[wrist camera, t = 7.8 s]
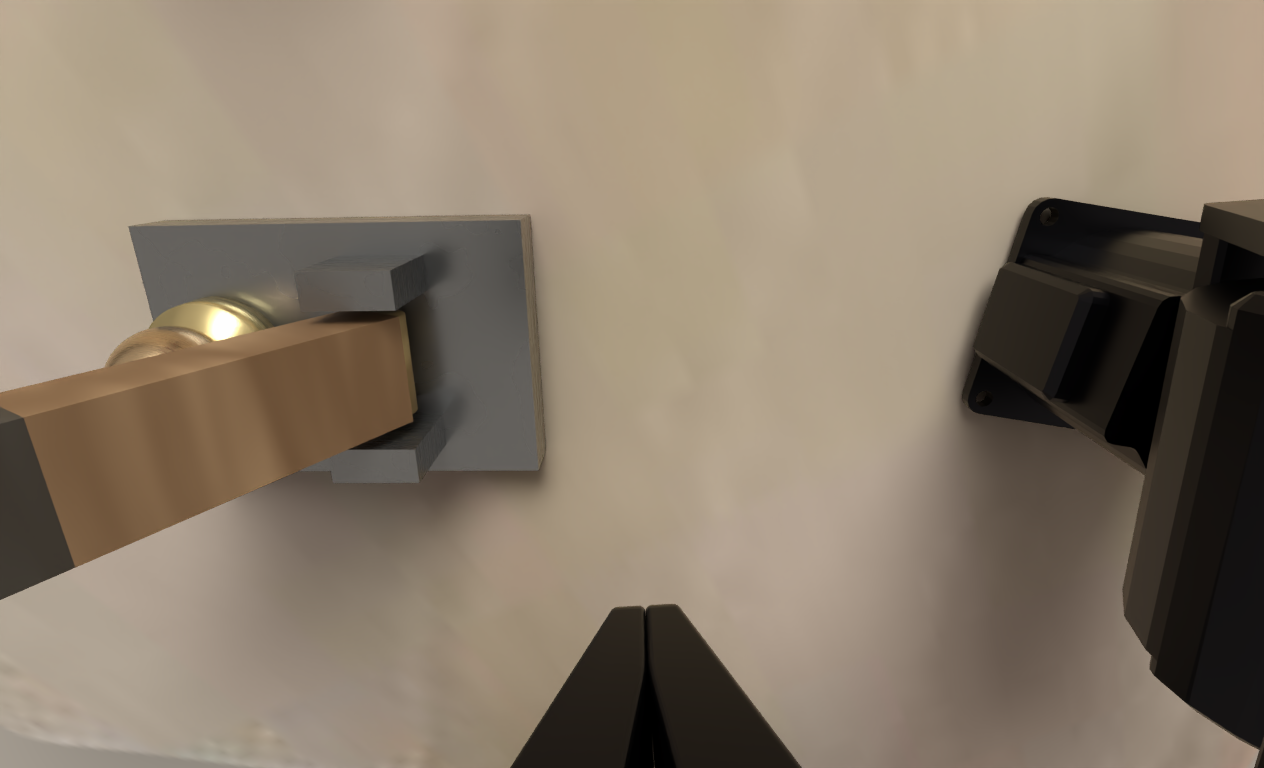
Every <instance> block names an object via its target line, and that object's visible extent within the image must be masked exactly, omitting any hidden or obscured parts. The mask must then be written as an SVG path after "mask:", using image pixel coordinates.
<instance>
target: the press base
mask: <svg viewBox="0 0 1264 768" xmlns="http://www.w3.org/2000/svg"><path fill="white" fill-rule="evenodd" d="M128 227H129V231H130V234H131V238H132V242H133V246H134V250H135V253H136V257H137V261H138V265H139V269H140V272H141V276H142V280H143V284H144V288H145V291H146V295H147V299H148V303H149V307H150V310H151V314H152V318H153V323H152V324H151V326H150V327H149V329H147V330H144V331H141V332H139V333H136V334H134V335H133V336H131V337H129V338H128V339H126V340H125V341H123V342H122V343H121V344H120V345H119V346H118V347H117V348H116V349H115V350H114V351H113V353H112V354H111V355H110V357H109V359H108V360H107V362H106V365H105V367H104V368H106V367H110V366H114V365H118V364H122V363H126V362H131V361H135V360H139V359H143V358H147V357H151V356H156V355H160V354H164V353H168V352H172V351H177V350H181V349H185V348H189V347H193V346H197V345H202V344H206V343H210V342H214V341H218V340H222V339H227V338H231V337H235V336H239V335H243V334H247V333H252V332H256V331H260V330H264V329H268V328H272V327H277V326H281V325H285V324H289V323H293V322H297V321H302V320H306V319H310V318H314V317H318V316H323V315H327V314H331V313H335V312H339V311H396V310H400V311H403V312H405V316H406V324H407V331H408V338H409V346H410V353H411V361H412V368H413V376H414V383H415V391H416V398H417V405H418V410H417V411H416V412H415V413H414V414H412V415H413V422H410V423H408V424H406V425H404V426H401V427H399V428H397V429H394V430H392V431H390V432H387V433H385V434H383V435H380V436H378V437H376V438H373V439H371V440H369V441H367V442H364V443H362V444H360V445H357V446H355V447H353V448H350V449H348V450H346V451H343V452H341V453H339V454H337V455H334V456H332V457H330V458H327V459H325V460H323V461H320V462H318V463H316V464H313V465H311V466H309V467H306V468H304V469H302V470H300V471H331V475H332V481H333V483H420V481H421V480H422V479H423V477H424V476H425V474H426V473H427V471H539V468H540V465H541V462H542V460H543V457H544V454H545V451H546V444H545V429H544V414H543V399H542V385H541V370H540V355H539V340H538V326H537V311H536V296H535V281H534V266H533V252H532V237H531V222H530V215H473V216H412V217H351V218H290V219H229V220H168V221H159V222H153V223H146V224H140V225H134V226H128Z"/></svg>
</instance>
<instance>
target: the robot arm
mask: <svg viewBox="0 0 1264 768" xmlns="http://www.w3.org/2000/svg"><path fill="white" fill-rule="evenodd" d="M1047 208H1049V209H1050V211H1051V217H1050V219H1049V220H1048V221H1047V222H1046V223H1044V224H1042V223H1041V221H1040V215H1041V213H1042V212H1043V211H1044V210H1045V209H1047ZM973 347H974V349H975V351H976V355H975V358H974V360H973V363H972V366H971V369H970V372H969V375H968V378H967V381H966V384H965V387H964V389H963V394H962V399H963V402H964V404H965V405H966V406H967V407H968V408H970V409H971V410H972V411H973V412H976V413H979V414H984V415H991V416H997V417H1003V418H1009V419H1016V420H1022V421H1028V422H1034V423H1041V424H1047V425H1053V426H1060V427H1066V428H1072V429H1077V430H1078V431H1080V432H1081V433H1083V434H1084V435H1086V436H1087V437H1089V438H1090V439H1092V440H1093V441H1095V442H1096V443H1098V444H1099V445H1101V446H1102V447H1103V448H1105V449H1106V450H1108V451H1109V452H1111V453H1112V454H1114V455H1115V456H1117V457H1118V458H1120V459H1121V460H1123V461H1124V462H1126V463H1127V464H1129V465H1130V466H1132V467H1133V468H1134V469H1136V470H1137V471H1139V472H1140V473H1142V474H1143V475H1145V479H1144V484H1143V489H1142V494H1141V499H1140V504H1139V509H1138V514H1137V519H1136V524H1135V529H1134V534H1133V539H1132V544H1131V549H1130V554H1129V559H1128V564H1127V569H1126V574H1125V579H1124V584H1123V589H1122V590H1123V605H1124V616H1125V618H1126V620H1127V621H1128V623H1129V624H1130V626H1131V627H1132V629H1133V630H1134V632H1135V634H1136V635H1137V637H1138V638H1139V640H1140V641H1141V643H1142V645H1143V646H1144V648H1145V649H1146V650H1147V651H1148V652H1149V653H1150V654H1151V655H1152V656H1151V660H1150V670H1151V672H1152V673H1153V675H1154V676H1155V677H1156V678H1158V679H1159V680H1160V681H1161V682H1162V683H1163V684H1164V685H1166V686H1167V687H1168V688H1169V689H1170V690H1171V691H1173V692H1174V693H1175V694H1176V695H1177V696H1178V697H1180V698H1181V699H1182V700H1183V701H1184V702H1185V703H1187V704H1188V705H1189V706H1190V707H1191V708H1193V709H1194V710H1195V711H1196V712H1198V713H1199V714H1201V715H1202V716H1204V717H1205V718H1207V719H1208V720H1210V721H1211V722H1213V723H1215V724H1216V725H1218V726H1219V727H1221V728H1222V729H1224V730H1225V731H1227V732H1228V733H1230V734H1231V735H1233V736H1234V737H1236V738H1237V739H1239V740H1241V741H1243V742H1245V743H1247V744H1249V745H1251V746H1253V747H1255V748H1257V749H1258V750H1260V751H1259V754H1258V757H1257V760H1256V764H1255V767H1254V768H1264V199H1259V200H1245V201H1231V202H1217V203H1206V204H1204V207H1203V212H1202V217H1201V222H1194V221H1188V220H1182V219H1176V218H1170V217H1164V216H1158V215H1152V214H1146V213H1140V212H1134V211H1128V210H1122V209H1116V208H1110V207H1104V206H1098V205H1092V204H1086V203H1080V202H1074V201H1068V200H1062V199H1056V198H1049V197H1044V198H1039V199H1037V200H1034V201H1033V202H1032V203H1031V204H1030V205H1029V206H1028V207H1027V209H1026V211H1025V213H1024V216H1023V218H1022V221H1021V224H1020V227H1019V230H1018V233H1017V236H1016V239H1015V242H1014V245H1013V247H1012V250H1011V253H1010V256H1009V259H1008V262H1007V264H1006V265H1004V266H1003V267H1002V268H1000V270H999V272H998V275H997V278H996V281H995V284H994V287H993V290H992V292H991V295H990V298H989V301H988V304H987V307H986V310H985V313H984V316H983V319H982V322H981V325H980V328H979V330H978V333H977V336H976V339H975V342H974V346H973ZM982 391H987V396H986V397H985V399H983V400H982V401H980V402H976V397H977V395H978V394H979V393H980V392H982ZM653 752H654V754H653ZM654 767H655V768H802V767H801V766H800V765H799V763H798V762H797V761H796V759H795V758H794V757H793V755H792V754H791V753H790V751H789V750H788V749H787V748H786V746H785V745H784V744H783V742H782V741H781V740H780V738H779V737H778V736H777V734H776V733H775V732H774V730H773V729H772V728H771V727H770V725H769V724H768V723H767V721H766V720H765V719H764V717H763V716H762V715H761V713H760V712H759V711H758V709H757V708H756V707H755V706H754V704H753V703H752V702H751V700H750V699H749V698H748V696H747V695H746V694H745V692H744V691H743V690H742V688H741V687H740V686H739V685H738V683H737V682H736V681H735V679H734V678H733V677H732V675H731V674H730V673H729V671H728V670H727V669H726V667H725V666H724V665H723V663H722V662H721V661H720V660H719V658H718V657H717V656H716V654H715V653H714V652H713V650H712V649H711V648H710V646H709V645H708V644H707V642H706V641H705V640H704V639H703V637H702V636H701V635H700V633H699V632H698V631H697V629H696V628H695V627H694V625H693V624H692V623H691V621H690V620H689V619H688V618H687V616H686V615H685V614H684V612H683V611H682V610H681V608H680V607H679V606H678V605H676V604H662V605H650V606H648V607H647V609H646V613H645V609H644V608H643V607H642V606H627V607H616V608H614V609H612V611H611V612H610V613H609V615H608V617H607V618H606V620H605V621H604V623H603V624H602V626H601V627H600V629H599V631H598V632H597V634H596V635H595V637H594V638H593V640H592V641H591V643H590V645H589V646H588V648H587V649H586V651H585V652H584V654H583V655H582V657H581V659H580V660H579V662H578V663H577V665H576V666H575V668H574V669H573V671H572V673H571V674H570V676H569V677H568V679H567V680H566V682H565V683H564V685H563V687H562V688H561V690H560V691H559V693H558V694H557V696H556V697H555V699H554V701H553V702H552V704H551V705H550V707H549V708H548V710H547V711H546V713H545V714H544V716H543V718H542V719H541V721H540V722H539V724H538V725H537V727H536V728H535V730H534V732H533V733H532V735H531V736H530V738H529V739H528V741H527V742H526V744H525V746H524V747H523V749H522V750H521V752H520V753H519V755H518V756H517V758H516V760H515V761H514V763H513V764H512V766H511V767H510V768H654Z"/></svg>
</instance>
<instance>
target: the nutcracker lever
mask: <svg viewBox="0 0 1264 768" xmlns="http://www.w3.org/2000/svg"><path fill="white" fill-rule="evenodd" d="M417 410H418V405H417V398H416V391H415V383H414V376H413V368H412V361H411V353H410V346H409V338H408V331H407V324H406V316H405V312H403V311H400V310H396V311H339V312H335V313H331V314H327V315H323V316H318V317H314V318H310V319H306V320H302V321H297V322H293V323H289V324H285V325H281V326H277V327H272V328H268V329H264V330H260V331H256V332H252V333H247V334H243V335H239V336H235V337H231V338H227V339H222V340H218V341H214V342H210V343H206V344H202V345H197V346H193V347H189V348H185V349H181V350H177V351H172V352H168V353H164V354H160V355H156V356H151V357H147V358H143V359H139V360H135V361H131V362H126V363H122V364H118V365H114V366H110V367H106V368H101V369H97V370H93V371H89V372H85V373H81V374H76V375H72V376H68V377H64V378H60V379H56V380H51V381H47V382H43V383H39V384H35V385H30V386H26V387H22V388H18V389H14V390H10V391H5V392H1V393H0V600H1V599H4V598H6V597H8V596H10V595H13V594H15V593H17V592H20V591H22V590H24V589H27V588H29V587H31V586H34V585H36V584H38V583H41V582H43V581H45V580H47V579H50V578H52V577H54V576H57V575H59V574H61V573H64V572H66V571H68V570H71V569H73V568H75V567H78V566H80V565H82V564H84V563H87V562H89V561H91V560H94V559H96V558H98V557H101V556H103V555H105V554H108V553H110V552H112V551H115V550H117V549H119V548H121V547H124V546H126V545H128V544H131V543H133V542H135V541H138V540H140V539H142V538H145V537H147V536H149V535H152V534H154V533H156V532H158V531H161V530H163V529H165V528H168V527H170V526H172V525H175V524H177V523H179V522H182V521H184V520H186V519H189V518H191V517H193V516H195V515H198V514H200V513H202V512H205V511H207V510H209V509H212V508H214V507H216V506H219V505H221V504H223V503H226V502H228V501H230V500H232V499H235V498H237V497H239V496H242V495H244V494H246V493H249V492H251V491H253V490H256V489H258V488H260V487H263V486H265V485H267V484H269V483H272V482H274V481H276V480H279V479H281V478H283V477H286V476H288V475H290V474H293V473H295V472H297V471H300V470H302V469H304V468H306V467H309V466H311V465H313V464H316V463H318V462H320V461H323V460H325V459H327V458H330V457H332V456H334V455H337V454H339V453H341V452H343V451H346V450H348V449H350V448H353V447H355V446H357V445H360V444H362V443H364V442H367V441H369V440H371V439H373V438H376V437H378V436H380V435H383V434H385V433H387V432H390V431H392V430H394V429H397V428H399V427H401V426H404V425H406V424H408V423H410V422H413V415H412V414H414V413H415V412H416V411H417Z"/></svg>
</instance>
